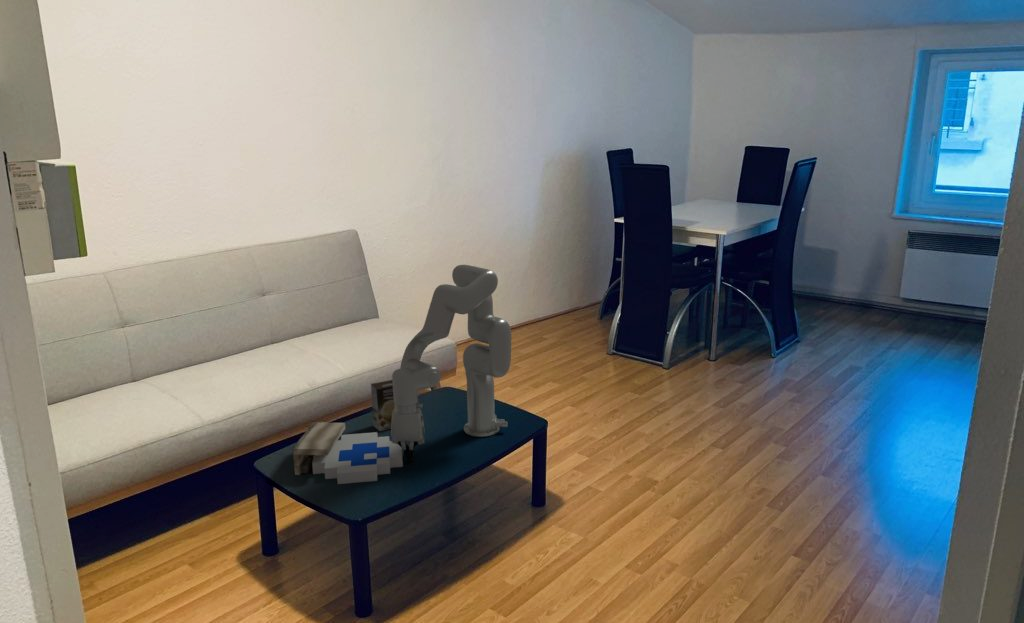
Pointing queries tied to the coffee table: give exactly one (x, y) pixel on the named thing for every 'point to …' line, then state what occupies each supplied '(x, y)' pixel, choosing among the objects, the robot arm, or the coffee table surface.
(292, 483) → the coffee table surface
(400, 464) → the pixel art tile
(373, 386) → the coffee box
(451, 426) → the coffee table surface
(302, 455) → the low shelf
